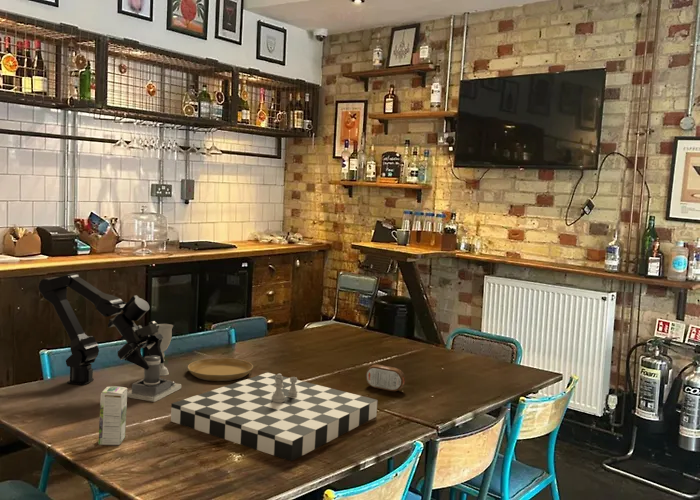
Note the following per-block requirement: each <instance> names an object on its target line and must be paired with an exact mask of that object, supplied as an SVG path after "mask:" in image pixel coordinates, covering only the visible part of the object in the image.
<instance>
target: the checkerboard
mask: <svg viewBox="0 0 700 500" xmlns="http://www.w3.org/2000/svg"><path fill="white" fill-rule="evenodd" d="M170 407H171V408H170V422H173V423H174V424H175V423H176V424H177V425H181V426H184V427H187V428H190V429H193V430H196V431H198V432H202V433H204V434H208V435H211V436H213V437H217V438H220V439H224V440H226V441H228V442H232V443H236V444H239V445H241V446H245V447H247V448H250V449H253V450H257V451H260V452H263V453H265V454H269V455H272V456H275V457H278V458H281V459H283V460H287V461H290V462H293V461H294V460H297V459H298V458H300V457H302V456H304V455H307V454H308V453H310V452H312V451H314V450H315V449H318V448H319V447H321V446H323V445H326V444H327V443H329V442H331V441H333V440H335V439H336V438H338V437H339V438H340V436H342V435H344V434H346V433H348V432H350V431H352V430H354V429H355V428H357V427H359V426H361V425H363V424H364V423H365V424H366V423H367V422H369V421H370V420H373V419H374V418H377V412H378V411H377V410H378V399H375V398H371V397H367V396H362V395H360V394H355V393H351V392H347V391H343V390H339V389H335V388H331V387H327V386H323V385H319V384H315V383H312V382H307V381H304V380H303V381H302V380H299V379H298V377H297V376H296V377H295V376H291V377H288V376H283V375H282V373H277V374H275V373H271V372H265V373H261V374H259V375H256V376H253V377H249V378H247V379H243V380H239V381H237V382H234V383H231V384H227V385H224V386H221V387H219V388H215V389H211V390H210V391H206V392H203V393H200V394H196V395H193V396H190V397H187V398H185V399H181V400H179V401H178V400H177V401H175V402H172V403H171V406H170Z"/></svg>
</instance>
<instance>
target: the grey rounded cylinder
mask: <svg viewBox="0 0 700 500" xmlns="http://www.w3.org/2000/svg"><path fill="white" fill-rule="evenodd" d="M144 359H145V361H146V362H147V364H148V366H149V369H148V370H146V369H144V368H143V369H144V370H143V371H144V372H143V379H144V385H149V386H157V385H159V384H160V378H161V377H160V366H161V363H160V362H161V359H160V356H157V355H150V354H149V355H145V356H144Z"/></svg>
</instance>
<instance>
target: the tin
mask: <svg viewBox="0 0 700 500" xmlns="http://www.w3.org/2000/svg"><path fill="white" fill-rule="evenodd" d="M365 380H366V381H365V382H367V384H368V385H369V386H370V387H371V388H375V389H380V390H385V391H389V392H398V391H400V390H401V389H403V388H404V386H405V384H406V376H405V373H404V372H403V371H402V370H401V369H400V368H397V367H392V366H388V365H387V366H386V365H383V364H376V363H375V364H372V365H371V366H369V367H368V368H367V369H366V371H365Z"/></svg>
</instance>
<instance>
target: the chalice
mask: <svg viewBox="0 0 700 500" xmlns="http://www.w3.org/2000/svg"><path fill="white" fill-rule="evenodd" d="M157 324H158V325H159V329H158V332H157V333H159V334H161V335H162V336H163V339H162V342H161V345H160V349H161V352H162V355H163V359H164V363H160V376H161V377H162V376H168V375H169V374H170V373H169V370H168V368H167V366H165V361H166V360H165V351H167V350H168V347H169V346H170V344H171V341H172V333H173V331H172V329H173V327H174V324H169V323H157ZM154 334H156V333H154Z"/></svg>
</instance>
